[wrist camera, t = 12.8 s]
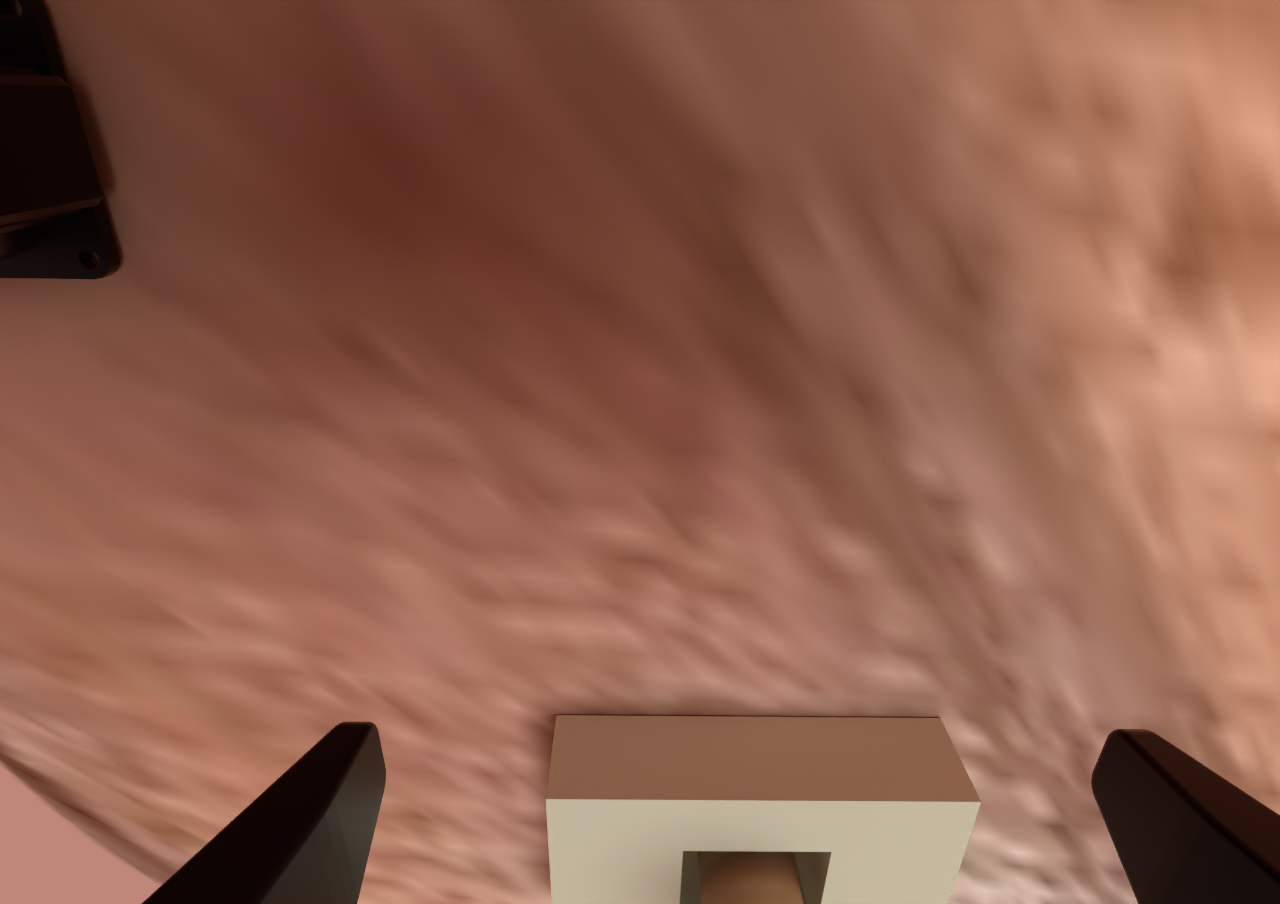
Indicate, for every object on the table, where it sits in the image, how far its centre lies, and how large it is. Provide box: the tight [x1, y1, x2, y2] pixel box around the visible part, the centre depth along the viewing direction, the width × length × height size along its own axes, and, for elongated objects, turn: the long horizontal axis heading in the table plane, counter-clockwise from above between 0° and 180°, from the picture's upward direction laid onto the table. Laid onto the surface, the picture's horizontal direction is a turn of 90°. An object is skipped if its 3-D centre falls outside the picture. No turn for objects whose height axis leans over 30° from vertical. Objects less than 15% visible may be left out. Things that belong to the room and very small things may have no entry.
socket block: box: [546, 715, 981, 904], centre depth 27 cm, size 14×10×4 cm
